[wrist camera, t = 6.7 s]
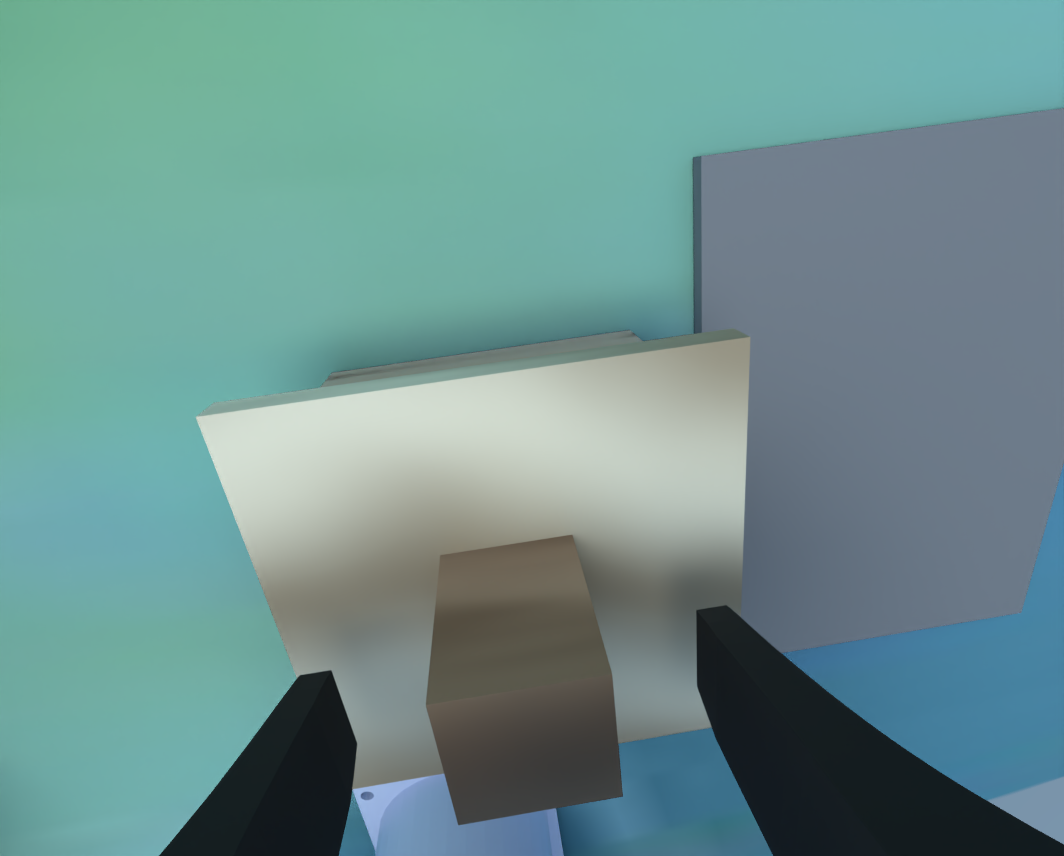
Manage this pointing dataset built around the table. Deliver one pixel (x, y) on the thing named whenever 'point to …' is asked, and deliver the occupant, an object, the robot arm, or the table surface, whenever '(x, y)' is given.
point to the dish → (481, 357)
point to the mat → (891, 369)
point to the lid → (501, 556)
